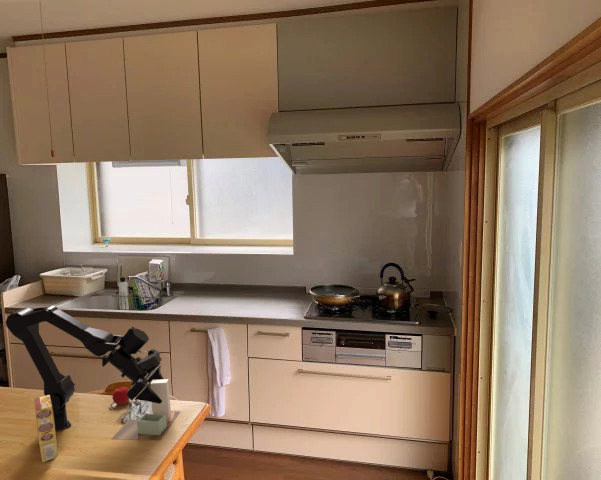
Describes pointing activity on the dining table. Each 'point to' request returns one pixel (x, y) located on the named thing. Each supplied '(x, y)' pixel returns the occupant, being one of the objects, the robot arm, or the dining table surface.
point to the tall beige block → (161, 397)
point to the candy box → (46, 428)
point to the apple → (119, 397)
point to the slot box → (152, 424)
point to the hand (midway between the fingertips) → (164, 395)
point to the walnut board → (131, 433)
